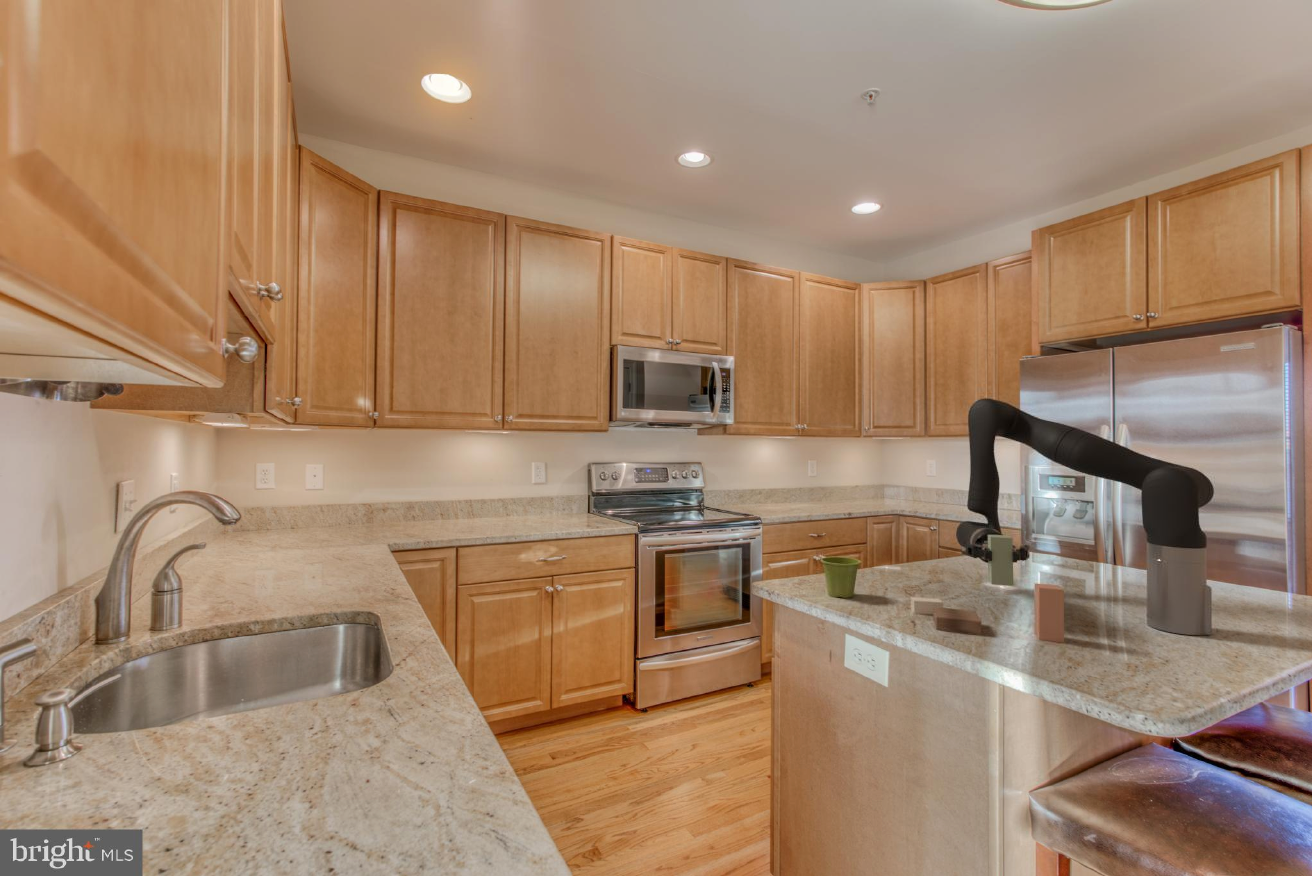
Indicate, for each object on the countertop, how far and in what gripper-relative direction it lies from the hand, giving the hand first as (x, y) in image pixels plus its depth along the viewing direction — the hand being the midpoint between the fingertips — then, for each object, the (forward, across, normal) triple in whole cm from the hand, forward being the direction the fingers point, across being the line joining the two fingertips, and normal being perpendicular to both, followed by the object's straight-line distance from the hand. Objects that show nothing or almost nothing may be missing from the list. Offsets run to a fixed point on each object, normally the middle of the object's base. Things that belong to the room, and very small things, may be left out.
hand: (1002, 556), depth 124 cm
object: (-11, -34, +13) cm, 38 cm away
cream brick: (-3, -15, +14) cm, 20 cm away
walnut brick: (+6, -10, +14) cm, 18 cm away
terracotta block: (+7, +6, +14) cm, 17 cm away
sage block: (-3, 0, +6) cm, 7 cm away
